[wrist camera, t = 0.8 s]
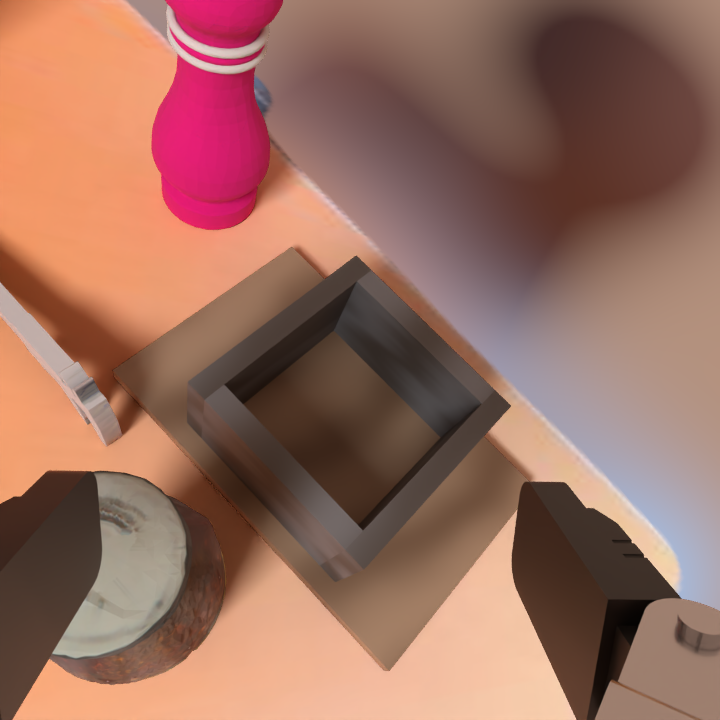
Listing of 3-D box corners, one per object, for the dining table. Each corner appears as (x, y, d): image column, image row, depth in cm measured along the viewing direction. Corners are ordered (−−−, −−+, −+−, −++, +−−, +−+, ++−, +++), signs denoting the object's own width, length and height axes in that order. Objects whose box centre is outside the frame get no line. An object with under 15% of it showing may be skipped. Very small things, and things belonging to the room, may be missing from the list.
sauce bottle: (175, 511, 33) (163, 359, 16) (243, 607, 32) (313, 559, 14) (58, 593, 30) (-115, 518, 13) (129, 702, 29) (46, 783, 12)
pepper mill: (178, 249, 40) (172, -66, 22) (138, 164, 42) (104, -187, 24) (279, 222, 43) (344, -75, 25) (237, 144, 45) (271, -182, 27)
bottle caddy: (114, 377, 35) (99, 320, 29) (289, 255, 42) (307, 187, 36) (383, 670, 32) (430, 675, 26) (526, 490, 39) (591, 460, 33)
